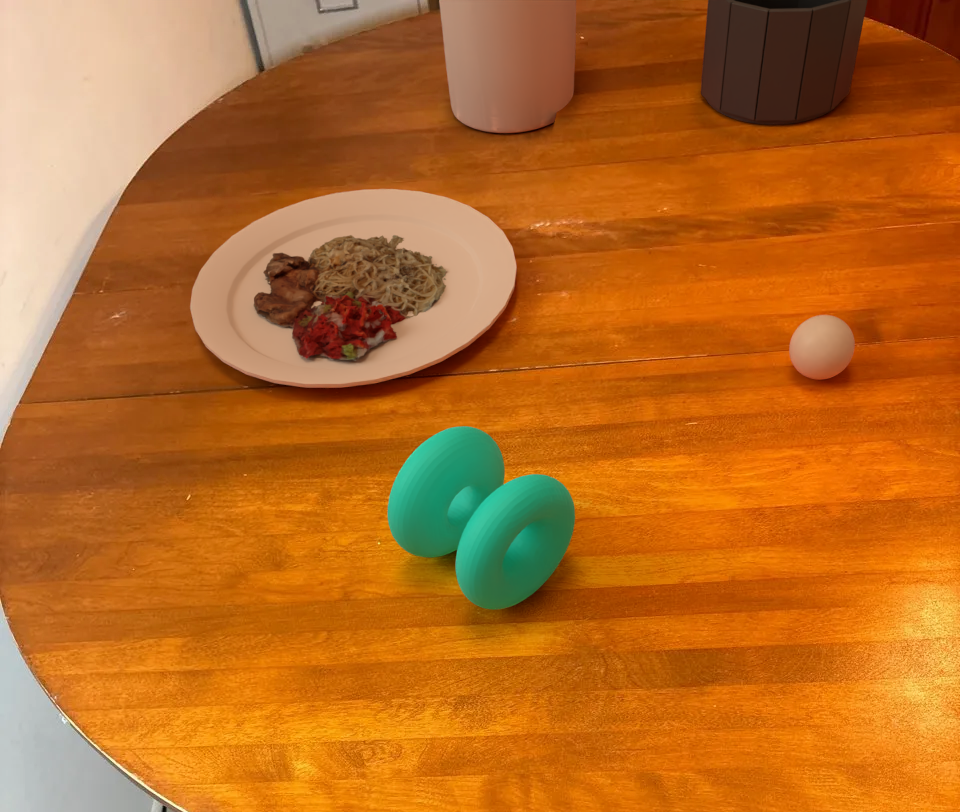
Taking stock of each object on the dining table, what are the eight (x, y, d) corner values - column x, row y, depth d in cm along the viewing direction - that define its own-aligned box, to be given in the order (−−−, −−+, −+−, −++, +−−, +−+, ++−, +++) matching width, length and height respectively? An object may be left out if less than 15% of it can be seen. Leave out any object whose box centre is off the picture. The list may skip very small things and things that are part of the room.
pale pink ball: (846, 354, 88) (858, 302, 84) (849, 393, 85) (862, 342, 81) (784, 352, 89) (793, 301, 85) (785, 391, 86) (795, 340, 82)
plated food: (446, 176, 110) (443, 145, 107) (572, 335, 92) (572, 302, 90) (165, 259, 104) (154, 228, 102) (242, 444, 87) (231, 413, 84)
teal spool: (488, 496, 81) (478, 393, 73) (584, 562, 76) (584, 460, 68) (390, 568, 77) (367, 468, 70) (483, 643, 73) (471, 544, 65)
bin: (844, 56, 116) (871, -89, 105) (852, 126, 107) (882, -24, 96) (701, 57, 118) (713, -84, 108) (697, 126, 109) (710, -20, 99)
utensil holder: (510, 59, 124) (500, -115, 110) (607, 95, 117) (610, -87, 104) (420, 111, 119) (398, -66, 105) (517, 151, 112) (507, -33, 98)
